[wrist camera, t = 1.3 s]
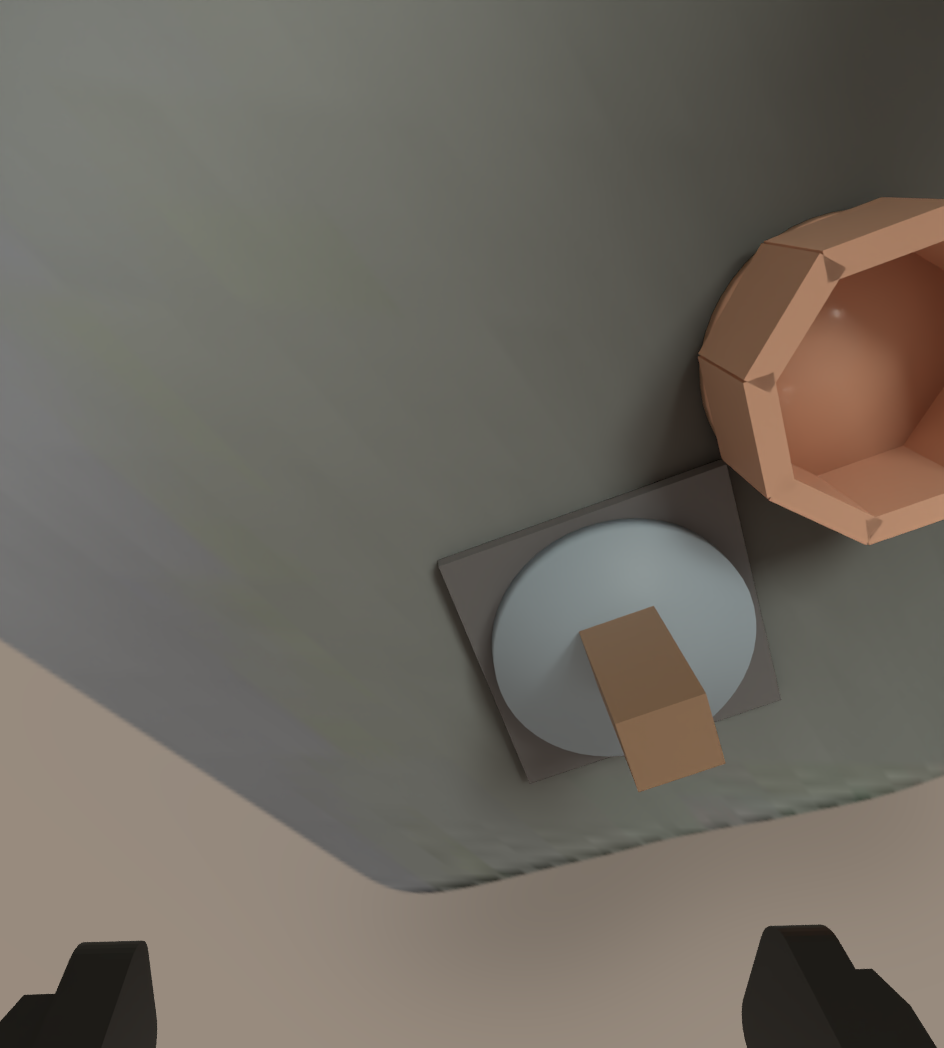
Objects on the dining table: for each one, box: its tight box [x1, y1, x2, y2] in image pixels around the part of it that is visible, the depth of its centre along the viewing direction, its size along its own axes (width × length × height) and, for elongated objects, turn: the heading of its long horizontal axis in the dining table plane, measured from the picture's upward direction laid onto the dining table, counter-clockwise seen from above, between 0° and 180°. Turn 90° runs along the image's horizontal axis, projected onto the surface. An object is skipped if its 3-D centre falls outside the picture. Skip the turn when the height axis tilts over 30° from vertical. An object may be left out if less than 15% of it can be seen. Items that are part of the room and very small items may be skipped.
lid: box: [492, 518, 756, 792], centre depth 30 cm, size 11×11×7 cm
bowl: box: [698, 197, 944, 545], centre depth 28 cm, size 10×10×5 cm
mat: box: [438, 460, 781, 784], centre depth 34 cm, size 12×12×1 cm
